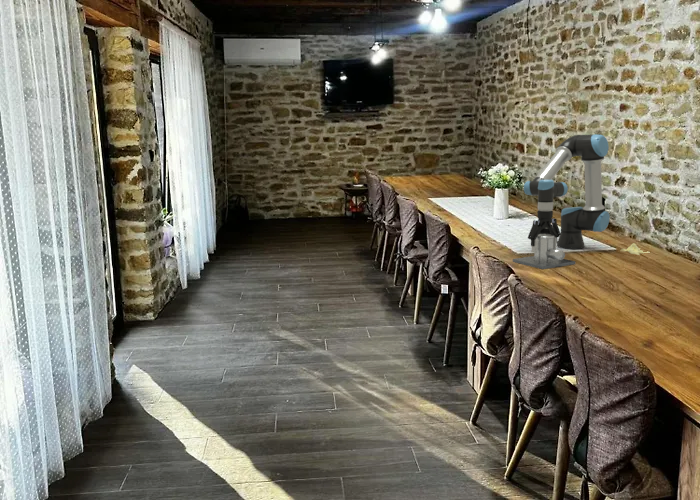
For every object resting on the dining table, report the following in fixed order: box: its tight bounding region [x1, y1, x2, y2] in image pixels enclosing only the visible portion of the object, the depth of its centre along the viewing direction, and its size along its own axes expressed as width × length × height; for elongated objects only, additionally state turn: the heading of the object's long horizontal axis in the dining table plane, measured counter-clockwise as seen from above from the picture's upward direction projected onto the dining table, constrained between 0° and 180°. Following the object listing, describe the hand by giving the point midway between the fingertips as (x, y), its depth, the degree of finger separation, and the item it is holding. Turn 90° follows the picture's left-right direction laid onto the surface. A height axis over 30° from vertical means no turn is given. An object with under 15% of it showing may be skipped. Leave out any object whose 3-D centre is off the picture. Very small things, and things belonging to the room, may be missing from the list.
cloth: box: [621, 242, 650, 255], centre depth 343 cm, size 22×19×6 cm
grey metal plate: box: [512, 255, 576, 270], centre depth 315 cm, size 22×22×10 cm
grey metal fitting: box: [533, 234, 566, 262], centre depth 311 cm, size 17×10×13 cm, turn 27°
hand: (543, 251), depth 315 cm, fingers open, 13 cm apart
